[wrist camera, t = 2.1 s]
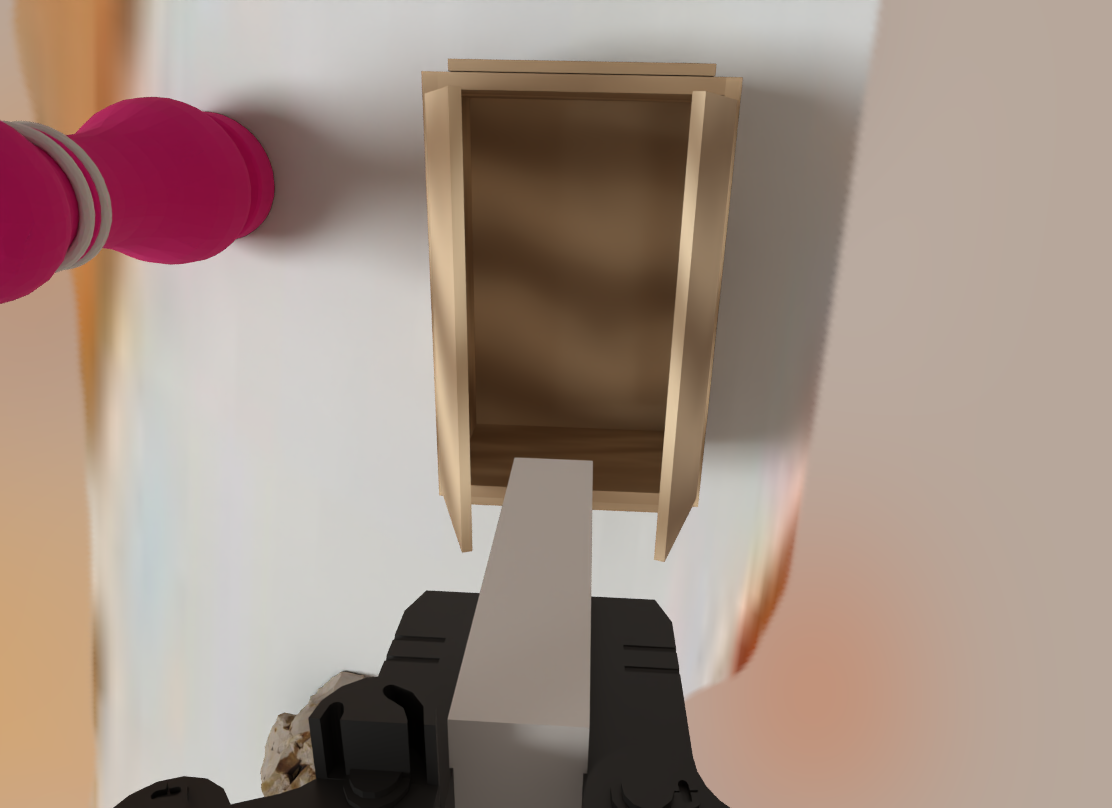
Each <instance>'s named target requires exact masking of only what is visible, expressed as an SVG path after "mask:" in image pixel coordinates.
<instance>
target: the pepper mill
mask: <svg viewBox="0 0 1112 808" xmlns="http://www.w3.org/2000/svg"><path fill="white" fill-rule="evenodd" d="M274 189H275V186H274V177H273V171H272V167H271V164H270V161H269V159H268V156H267V154H266V152H265V151H264V149H263V147H262V146H261V144H260V143H259V142H258V140H257V139H256V138H255V136H254V135H253V134H252V133H250V132H249V131H248V130H247V129H246V128H245V127H243V126H242V125H241V124H239V123H238V122H236V121H235V120H232V119H230V118H228V117H226V116H224V115H221V114H217V113H212V112H202V111H201V110H199V109H197V108H195V107H193V106H191V105H189V104H186V103H183V102H180V101H177V100H173V99H170V98H160V97H143V98H134V99H128V100H123V101H120V102H118V103H115V104H113V105H110V106H108V107H106V108H105V109H103V110H101V111H99V112H97V113H96V114H94V115H93V116H92V117H91V118H90V119H89V120H88V121H87V122H86V123H85V124H84V125H83V126H82V127H81V128H80V129H79V130H78V131H77V132H76V133H75V134H72V135H64V134H63V133H61V132H59V131H57V130H55V129H53V128H51V127H48V126H45V125H42V124H39V123H34V122H27V121H14V122H8V121H0V304H2V303H5V302H9V301H13V300H16V299H18V298H21V297H23V296H26V295H28V294H30V293H31V292H33V291H34V290H36V289H37V288H38V287H40V286H41V285H43V284H44V283H45V282H47V281H48V280H49V279H50V278H51V277H52V275H53V274H54V273H56V272H59V271H62V270H67V269H72V268H76V267H79V266H81V265H83V264H85V263H87V262H88V261H90V260H91V259H92V258H94V257H95V256H96V255H97V254H98V253H99V252H100V250H101V249H102V248H107V249H112V250H115V251H118V252H121V253H123V254H125V255H128V256H130V257H133V258H136V259H138V260H142V261H147V262H154V263H162V264H170V265H171V264H184V263H190V262H195V261H200V260H205V259H208V258H210V257H213V256H215V255H217V254H218V253H220V252H222V251H223V250H224V249H226V248H227V247H228V246H229V245H230V244H232V243H233V242H234V241H235V239H238V238H241V237H244V236H246V235H248V234H249V233H251V232H252V231H254V230H255V229H256V228H258V227H259V226H260V225H261V223H262V222H263V221H264V220H265V218H266V217H267V215H268V213H269V211H270V209H271V205H272V202H273V198H274Z"/></svg>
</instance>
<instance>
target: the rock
mask: <svg viewBox="0 0 1112 808" xmlns="http://www.w3.org/2000/svg"><path fill="white" fill-rule="evenodd" d="M363 678H365V677H364V675H357V674H354V673H348V672H341V673H339V674H338V675H337V676H334V677H332V678H331V679H330V680H329V681H328V682H327V683H325V684H324V686H323V687H322V688H319V689H318V692H317V694H315V695H313V696H311V697H310V701H309V703H308V705H306V706H305V707H304V708H303V709H302V710H301V711H300V713H299V714H298V715H293V714H289V713H283V714H280V715H278V717H277V721H276V723H275V724H274V725H273V727H272V729H271V731H270V734H269V737H268V740H267V743H266V746H265V758H264V761H263V765H262V768H261V772H260V774H261V780H262V784H261V789H262V792H263V794H264V797H267V796H271V795H276V794H280V793H283V792H286V791H289V790H293V789H296V788H299V787H301V786H303V785H305V784H307V783H309V782H311V781H312V780H314V779H316V774H315V767H314V759H313V751H312V744H311V736H310V728H309V721H308V718H309V716H310V715H311V714H312V712H313V711H314V710H315V708H316V707H317V706H318V704H319V703H320V702H321V700H323V699H324V698H325V697H327V696H328V695H330V694H331V693H333V692H334V691H336V690H337V689H338V688H340V687H341V686H344V685H347V684H349V683H352V682H355V681H358V680H361V679H363Z"/></svg>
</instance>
